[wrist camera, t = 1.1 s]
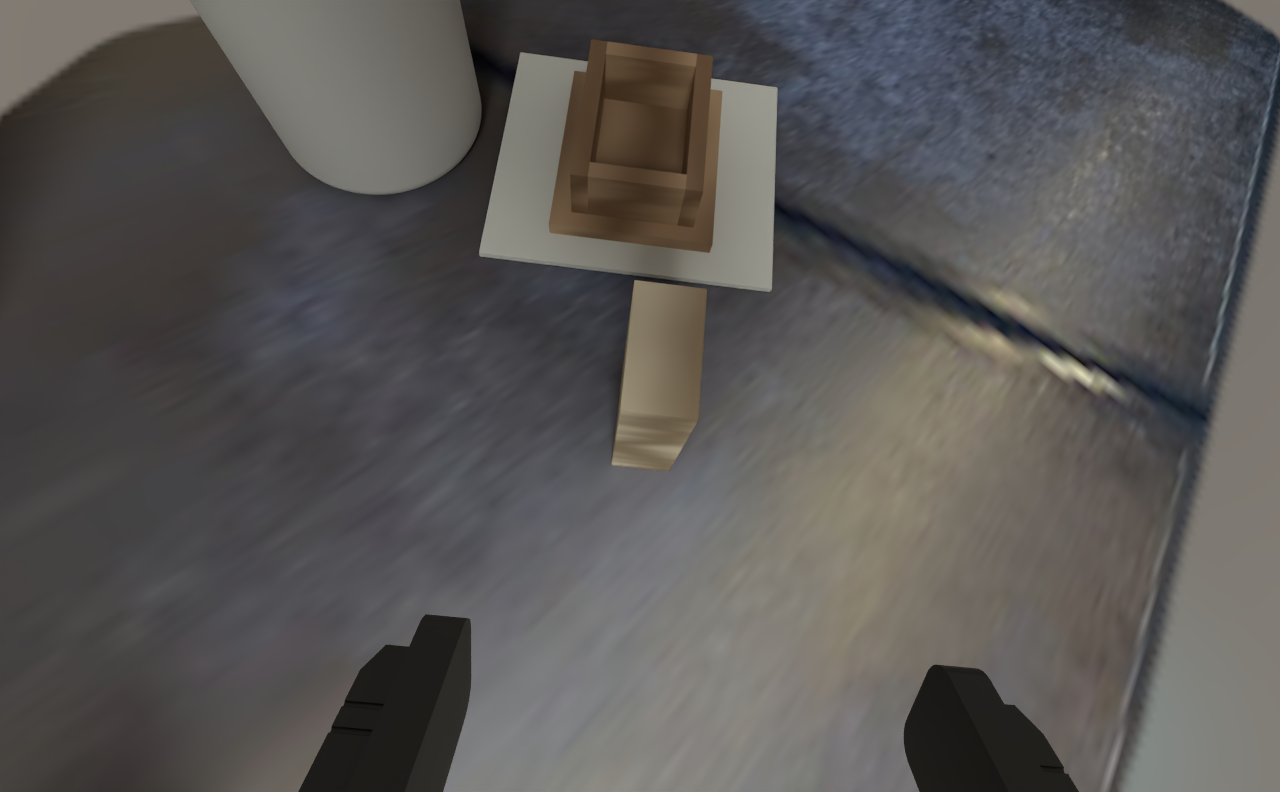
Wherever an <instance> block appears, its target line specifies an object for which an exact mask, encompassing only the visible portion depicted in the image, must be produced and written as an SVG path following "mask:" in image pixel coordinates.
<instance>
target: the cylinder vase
mask: <svg viewBox="0 0 1280 792" xmlns="http://www.w3.org/2000/svg"><path fill="white" fill-rule="evenodd" d="M190 1H191V3H192V4H193V5H194V7H195V9H196V10H197V12H198V13H199V15H200V16H201V18H202V19H203V21H204V22H205V24H206V26H207V27H208V29H209V30H210V32H211V33H212V35H213V36H214V38H215V39H216V41H217V42H218V44H219V45H220V47H221V48H222V50H223V52H224V53H225V55H226V56H227V58H228V59H229V61H230V62H231V64H232V65H233V67H234V68H235V70H236V71H237V73H238V74H239V76H240V78H241V79H242V81H243V82H244V84H245V85H246V87H247V88H248V90H249V91H250V93H251V94H252V96H253V97H254V99H255V100H256V102H257V104H258V105H259V107H260V108H261V110H262V111H263V113H264V114H265V116H266V117H267V119H268V120H269V122H270V123H271V125H272V126H273V128H274V130H275V131H276V133H277V134H278V136H279V137H280V139H281V140H282V142H283V143H284V145H285V146H286V148H287V149H288V151H289V152H290V154H291V155H292V157H293V158H294V159H295V160H296V161H297V162H298V164H299V165H300V166H302V167H303V168H304V169H305V170H306V171H307V172H309V173H310V174H311V175H313V176H314V177H316V178H317V179H319V180H321V181H323V182H324V183H326V184H329V185H331V186H333V187H336V188H339V189H342V190H345V191H349V192H354V193H360V194H370V195H385V194H395V193H401V192H406V191H410V190H413V189H417V188H419V187H422V186H425V185H427V184H429V183H431V182H433V181H435V180H437V179H439V178H440V177H442V176H443V175H445V174H446V173H448V172H449V171H450V170H451V169H453V168H454V167H455V166H456V165H457V164H458V163H459V162H460V161H461V160H462V159H463V158H464V157H465V155H466V154H467V153H468V151H469V150H470V148H471V146H472V145H473V143H474V141H475V139H476V136H477V134H478V130H479V127H480V122H481V111H482V109H481V99H480V94H479V89H478V84H477V79H476V75H475V70H474V65H473V61H472V56H471V51H470V46H469V42H468V37H467V32H466V27H465V23H464V18H463V13H462V9H461V4H460V0H190Z"/></svg>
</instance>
